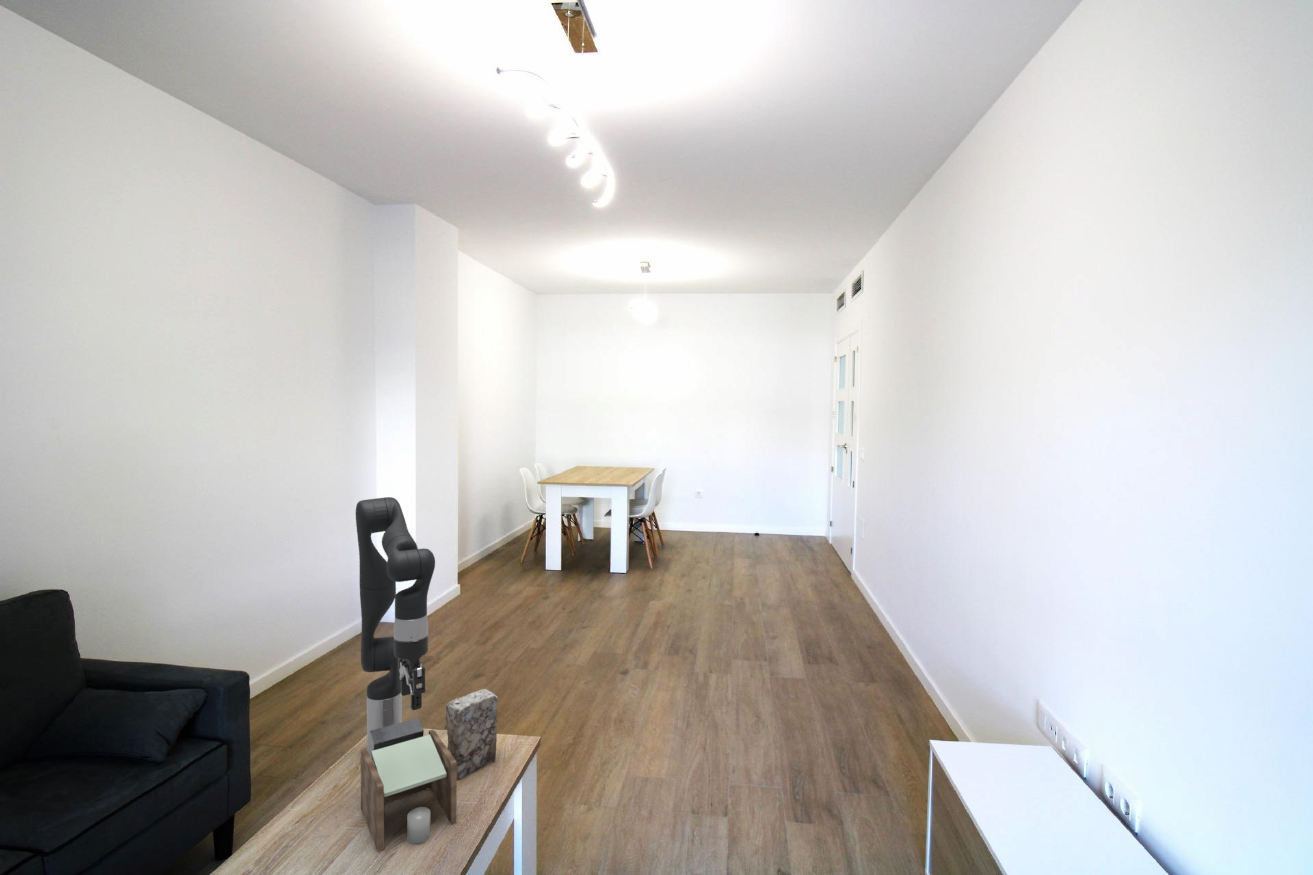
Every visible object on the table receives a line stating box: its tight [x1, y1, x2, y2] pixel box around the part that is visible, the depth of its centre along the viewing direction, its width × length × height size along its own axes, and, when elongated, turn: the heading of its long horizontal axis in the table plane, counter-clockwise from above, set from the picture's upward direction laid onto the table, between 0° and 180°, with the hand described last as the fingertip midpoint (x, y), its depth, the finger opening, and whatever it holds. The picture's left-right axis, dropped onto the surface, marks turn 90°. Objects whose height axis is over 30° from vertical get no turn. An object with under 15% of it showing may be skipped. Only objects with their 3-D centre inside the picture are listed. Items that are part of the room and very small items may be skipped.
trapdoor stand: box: [360, 729, 458, 853], centre depth 152 cm, size 18×18×15 cm
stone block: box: [445, 688, 499, 780], centre depth 173 cm, size 13×7×20 cm, turn 145°
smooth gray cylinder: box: [406, 806, 431, 846], centre depth 145 cm, size 5×5×6 cm
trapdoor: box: [369, 717, 447, 797], centre depth 155 cm, size 21×14×3 cm, turn 36°
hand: (411, 701), depth 148 cm, fingers open, 8 cm apart
